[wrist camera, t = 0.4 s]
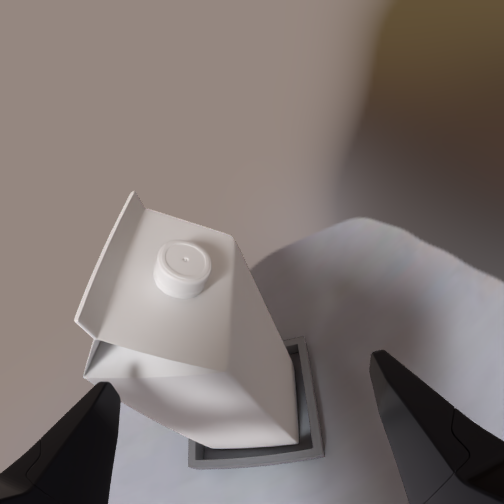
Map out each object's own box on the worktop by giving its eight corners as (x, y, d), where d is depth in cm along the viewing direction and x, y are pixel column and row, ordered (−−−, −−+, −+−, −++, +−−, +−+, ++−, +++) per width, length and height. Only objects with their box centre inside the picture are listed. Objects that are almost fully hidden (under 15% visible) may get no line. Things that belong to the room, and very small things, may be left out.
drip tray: (324, 456, 19) (322, 454, 18) (196, 469, 21) (188, 466, 20) (306, 344, 26) (303, 336, 25) (198, 365, 28) (191, 358, 27)
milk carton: (212, 449, 22) (18, 328, 9) (216, 375, 27) (79, 212, 14) (299, 444, 20) (171, 306, 8) (294, 365, 25) (203, 166, 13)
